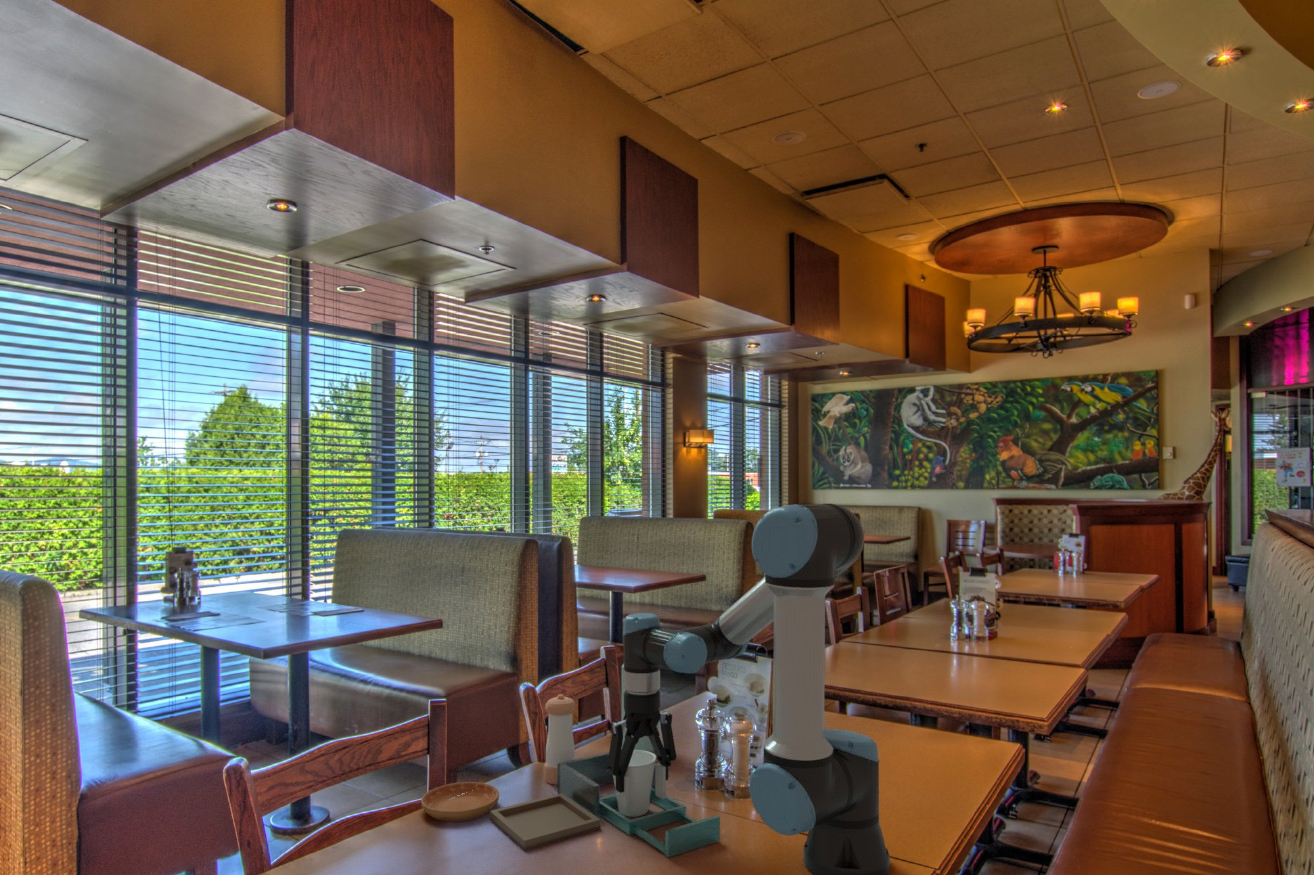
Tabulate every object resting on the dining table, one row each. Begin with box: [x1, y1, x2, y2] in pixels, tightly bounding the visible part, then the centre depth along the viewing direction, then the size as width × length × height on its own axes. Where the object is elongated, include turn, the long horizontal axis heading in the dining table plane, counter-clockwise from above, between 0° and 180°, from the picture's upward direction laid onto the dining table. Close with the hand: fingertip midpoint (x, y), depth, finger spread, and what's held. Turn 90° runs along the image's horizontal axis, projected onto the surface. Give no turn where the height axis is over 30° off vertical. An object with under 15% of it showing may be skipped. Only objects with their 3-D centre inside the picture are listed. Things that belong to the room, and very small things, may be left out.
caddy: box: [599, 787, 721, 858], centre depth 162 cm, size 26×14×4 cm, turn 34°
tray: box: [489, 793, 602, 851], centre depth 163 cm, size 16×16×2 cm
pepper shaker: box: [543, 693, 577, 786], centre depth 188 cm, size 7×7×19 cm
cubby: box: [556, 751, 655, 819], centre depth 177 cm, size 16×17×6 cm
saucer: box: [420, 781, 500, 822], centre depth 171 cm, size 16×16×3 cm
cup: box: [613, 750, 658, 818], centre depth 170 cm, size 10×10×11 cm
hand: (642, 801), depth 167 cm, fingers closed on cup, 8 cm apart
